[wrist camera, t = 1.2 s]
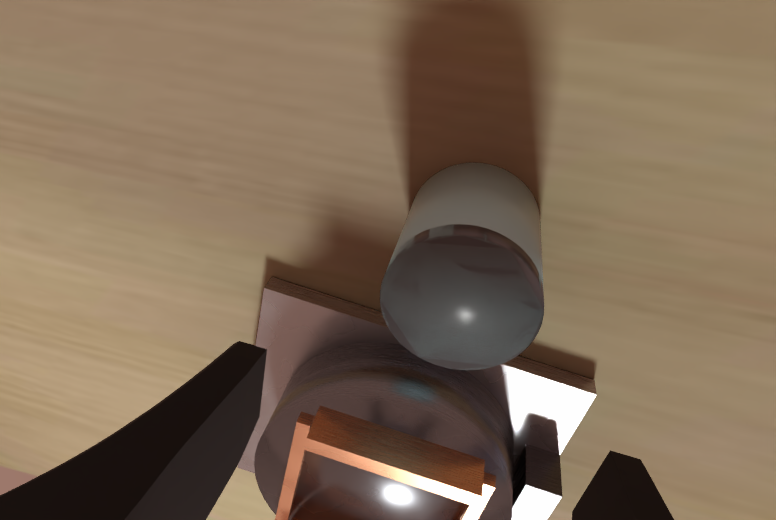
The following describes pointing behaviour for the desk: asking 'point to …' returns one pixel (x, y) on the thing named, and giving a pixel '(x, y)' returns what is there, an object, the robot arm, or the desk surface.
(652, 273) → the desk surface
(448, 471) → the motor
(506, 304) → the cylinder
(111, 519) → the robot arm
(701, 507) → the desk surface
